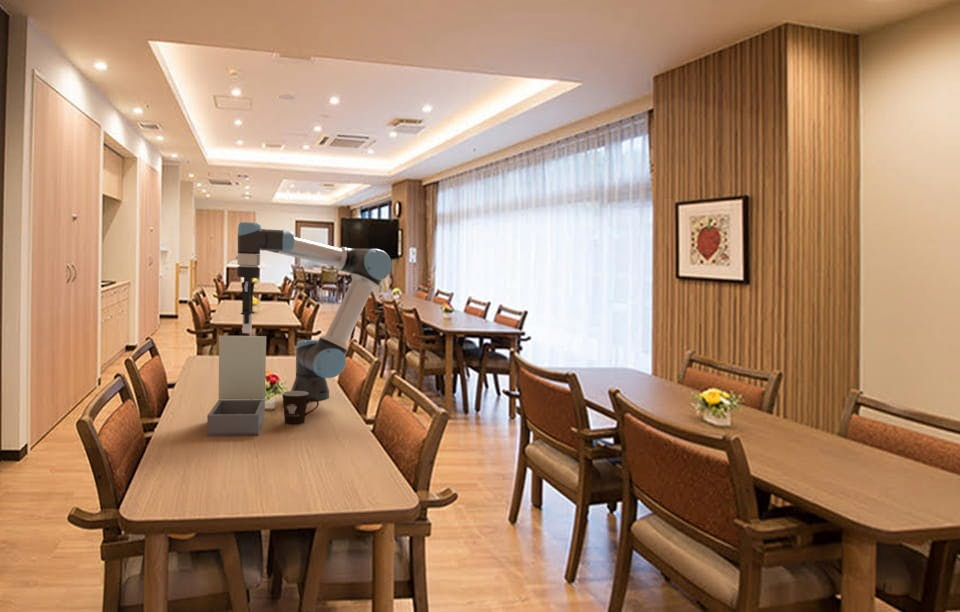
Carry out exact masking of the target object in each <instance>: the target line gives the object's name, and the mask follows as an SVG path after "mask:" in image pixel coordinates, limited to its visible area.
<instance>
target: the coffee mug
mask: <svg viewBox="0 0 960 612" xmlns="http://www.w3.org/2000/svg"><path fill="white" fill-rule="evenodd" d="M281 394H282V403H283V415H284V416H283V417H284V423H285V424H286V425H289V426H290V425H293V426H294V425H295V426H296V425H302V424H305V421H306V417H307V415H309V414H310V413H313V412H314V411H315V410H317V408H318V407H319V405H320V403H319V400H317V399H316V398H310V399H308V394H309V393H308V392H305V391H291V390H289V391H283V392H282V393H281ZM312 399H313V400H312ZM310 401H315V402H316V406H315V407H314V408H313V409H311V410H310V411H308V412H307V408H308V407H307V406H308V404H309V402H310Z"/></svg>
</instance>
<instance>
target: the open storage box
mask: <svg viewBox="0 0 960 612" xmlns="http://www.w3.org/2000/svg"><path fill="white" fill-rule="evenodd" d="M265 404H266V399H265V400H219V399H218V400H217V402H216V403H215V404H214V406H213V407H211V409H210V412H209V413H208V414H207V420H206V422H207V423H206V424H207V425H206V428H207V429H206V436H207V437H238V436H239V437H241V436H243V437H244V436H245V437H246V436H248V437H250V436H253V437H255V436H259V435H260V432H261V429H262V427H263V424H264V421H265V415H266V414H265V411H266V407H265V406H266V405H265Z"/></svg>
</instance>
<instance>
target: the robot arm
mask: <svg viewBox="0 0 960 612" xmlns="http://www.w3.org/2000/svg"><path fill="white" fill-rule="evenodd" d="M261 251H267V252H270V253H275V254H281V255H284V256H288V257H293V258H298V259H302V260H305V261H310V262H315V263H318V264H319V263H320V264H324V265H326V266H327V265H328V266H331V267H335V269H336V270H337V271H341V272H345V273H347V274H350V276H351V280H352V281H351V283H350V285H349V286H348V288H347V290H346V293H345V294H344V296H343V298H342V301H341V303H340V304H339V306H338V309H337V311H336V313H335V316H333V320H332V321H331V323H330V325H329V328H328V329H327V331H326V334H324V335H322V336H320V337H319V338H318V339H307V340H306V339H305V340H303V339H301V340H298V341H297V342H296V348H295V352H296V353H295V379H294V381H293V384H292V387H291V390H290V391H305V392H308V393H309V394H308V399H310V398H316V399H317V400H318V401H320V400H326V399H328V398H330V388H329V385H328V381H327V379H332V378H336V377H338V376H339V375H340V374H341V373H342V372H343V371H344V369H345V368H346V364H347V360H346V354H347V352H348V346H347V343H348V340H349V338H350V337H351V335H352V333H353V331H354V328H355V326H356V324H357V322H358V320H359V318H360V316H361V314H362V312H363V310H364V307H365V306H366V304H367V302H368V300H369V297H370V296H371V293H372V291H373V290H374V289H376V288H377V289H378V288H379V286H380V283H381V281H383V280H384V279H387V277H388V276H389V275H390V274H391V272H392V269H393V266H392V265H393V264H392V259H391V257H390V255H389V254H388V253H387V252H386V251H384V250H383V249H382V250H381V249H379V248H350V247H346V246H345V247H344V246H341V247H335V246H331V245H326V244H323V243H319V242H314V241H311V240H307V239H302V238H299V237H295V235H294V233H293V231H291V230H285V229H268V228H267V229H266V228H262V227H261V224H260V223H259V222H248V221H247V222H246V221H242V222H239V223H238V227H237V255H236V256H235V259H236V260H237V262H236V263H237V265H238V266H237V267H236V270H237V271H236V276H237V277H238V278H243V282H241V289H242V290H241V295H242V296H241V297H242V301H241V302H242V309H241V312H240V315H242V332H241V333H242V334H251V333H252V331H253V330H252V329H253V327H252V326H253V325H252V324H253V314H255V311H254V309H253V305H254V303H253V301H254V300H253V299H254V291H255V289H254V288H255V282H253V279H254V278H255V279H256V278H259V277H260V265H261ZM311 401H314V400H313V399H312V400H311Z"/></svg>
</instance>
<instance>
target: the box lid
mask: <svg viewBox="0 0 960 612" xmlns="http://www.w3.org/2000/svg"><path fill="white" fill-rule="evenodd" d="M266 360H267V336H266V335H262V336H261V335H260V336H259V335H249V336H248V335H218V400H265V401H266V381H267V380H266V377H267V374H266V373H267V372H266V371H267V369H266V367H267V365H266V364H267V361H266Z"/></svg>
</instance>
